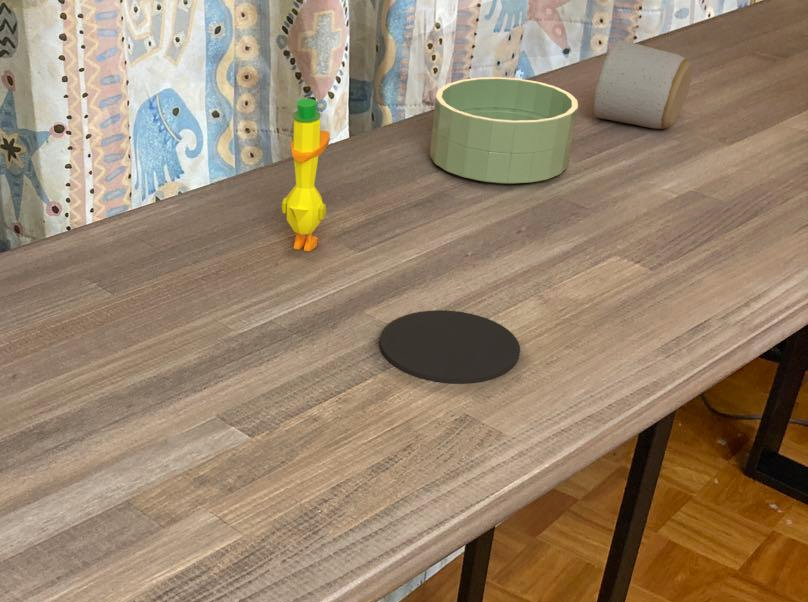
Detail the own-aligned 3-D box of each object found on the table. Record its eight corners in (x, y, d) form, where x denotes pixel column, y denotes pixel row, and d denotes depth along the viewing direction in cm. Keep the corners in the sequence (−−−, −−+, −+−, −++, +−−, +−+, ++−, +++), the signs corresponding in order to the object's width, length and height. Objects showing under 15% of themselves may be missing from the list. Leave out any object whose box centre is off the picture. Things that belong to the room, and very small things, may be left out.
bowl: (566, 143, 114) (577, 82, 110) (567, 193, 104) (579, 127, 100) (435, 133, 116) (441, 72, 112) (424, 180, 106) (430, 116, 102)
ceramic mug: (664, 140, 115) (683, 61, 110) (586, 125, 118) (601, 48, 113) (690, 113, 122) (709, 37, 117) (616, 99, 125) (631, 26, 120)
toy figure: (299, 225, 97) (304, 82, 90) (338, 232, 96) (346, 88, 89) (272, 257, 92) (274, 108, 85) (313, 264, 91) (319, 114, 84)
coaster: (520, 322, 84) (521, 317, 84) (517, 391, 76) (518, 386, 76) (387, 308, 85) (388, 304, 85) (371, 374, 78) (371, 369, 78)
